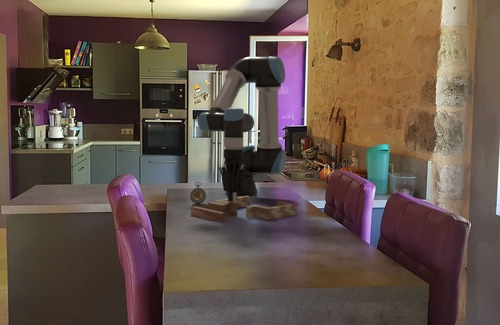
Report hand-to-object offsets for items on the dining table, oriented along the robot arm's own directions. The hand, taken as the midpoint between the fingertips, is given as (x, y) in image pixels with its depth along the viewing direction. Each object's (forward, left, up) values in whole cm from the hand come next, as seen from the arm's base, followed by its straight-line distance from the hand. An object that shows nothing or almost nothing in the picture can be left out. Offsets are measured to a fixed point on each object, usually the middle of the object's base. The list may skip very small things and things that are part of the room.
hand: (232, 208), depth 210 cm
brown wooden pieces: (-3, +4, -2) cm, 5 cm away
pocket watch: (0, -20, -2) cm, 20 cm away
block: (+5, -1, -2) cm, 5 cm away
